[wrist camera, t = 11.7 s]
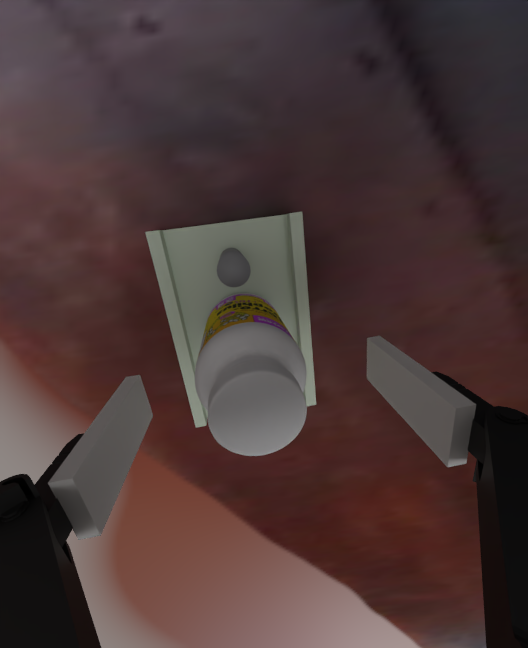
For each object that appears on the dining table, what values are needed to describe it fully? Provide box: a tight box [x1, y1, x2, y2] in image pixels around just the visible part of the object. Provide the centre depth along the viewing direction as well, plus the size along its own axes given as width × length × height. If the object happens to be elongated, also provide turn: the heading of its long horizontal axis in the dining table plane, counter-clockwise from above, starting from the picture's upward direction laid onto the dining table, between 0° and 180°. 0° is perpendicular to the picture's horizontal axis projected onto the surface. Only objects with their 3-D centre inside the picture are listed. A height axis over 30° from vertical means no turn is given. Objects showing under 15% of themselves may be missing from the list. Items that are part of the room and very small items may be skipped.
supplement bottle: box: [195, 293, 307, 456], centre depth 18 cm, size 7×7×13 cm
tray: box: [145, 212, 316, 427], centre depth 22 cm, size 18×12×8 cm, turn 7°
